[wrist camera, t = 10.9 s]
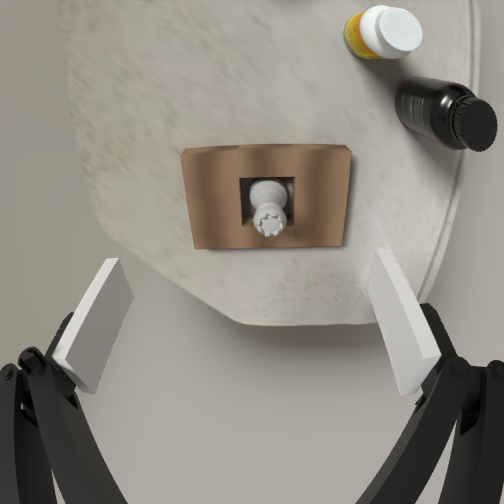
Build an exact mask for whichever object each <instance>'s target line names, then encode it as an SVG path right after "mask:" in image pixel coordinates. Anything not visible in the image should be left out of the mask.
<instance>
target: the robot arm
mask: <svg viewBox="0 0 504 504" xmlns="http://www.w3.org/2000/svg"><path fill="white" fill-rule="evenodd" d="M367 292H368V295H369V297H370V300H371V303H372V306H373V309H374V312H375V315H376V317H377V320H378V323H379V326H380V329H381V333H382V336H383V339H384V342H385V345H386V348H387V351H388V355H389V358H390V361H391V365H392V368H393V371H394V375H395V378H396V382H397V386H398V390H399V394H400V396H403V395H408V394H413V393H416V392H417V391H418V389H419V388H420V386H421V387H422V390H423V394H422V396H421V397H420V398H419V400H418V401H417V402H416V403H415V405H417V406H416V408H415V410H414V412H413V414H412V416H411V417H410V419H409V421H408V423H407V425H406V427H405V429H404V430H403V432H402V434H401V436H400V438H399V439H398V441H397V443H396V445H395V446H394V448H393V449H392V451H391V453H390V455H389V456H388V458H387V459H386V461H385V463H384V464H383V465H382V467H381V469H380V470H379V472H378V473H377V474H376V476H375V478H374V479H373V480H372V482H371V483H370V485H369V486H368V487H367V489H366V490H365V492H364V493H363V494H362V496H361V497H360V498H359V500H358V501H357V502H356V503H355V504H415V503H416V501H417V499H418V498H419V496H420V494H421V493H422V491H423V489H424V487H425V486H426V484H427V482H428V480H429V478H430V476H431V474H432V473H433V471H434V469H435V467H436V465H437V463H438V461H439V459H440V457H441V455H442V452H443V450H444V448H445V446H446V443H447V441H448V439H449V437H450V434H451V432H452V429H453V427H454V425H455V422H456V419H457V423H456V429H455V435H454V441H453V446H452V451H451V456H450V460H449V465H448V469H447V473H446V477H445V481H444V485H443V488H442V492H441V495H440V499H439V502H438V504H499V503H500V498H501V494H502V488H503V483H504V362H502V361H499V360H493V361H491V362H490V363H489V364H488V366H487V367H478V366H471V365H470V364H469V363H468V362H467V361H466V360H465V359H464V358H462V357H459V356H458V355H457V354H456V352H455V349H454V347H453V345H452V342H451V340H450V338H449V336H448V334H447V332H446V329H444V325H443V323H442V322H441V319H440V317H439V315H438V313H437V311H436V310H435V309H434V308H433V307H432V306H431V305H430V304H429V303H425V304H419V303H418V301H417V299H416V297H415V295H414V293H413V291H412V289H411V287H410V285H409V283H408V281H407V279H406V277H405V276H404V274H403V272H402V270H401V268H400V266H399V264H398V262H397V261H396V259H395V257H394V255H393V253H392V251H391V250H390V248H389V247H381V248H375V252H374V257H373V262H372V267H371V272H370V277H369V281H368V286H367ZM133 297H134V296H133V293H132V291H131V289H130V286H129V284H128V281H127V279H126V276H125V274H124V271H123V269H122V266H121V264H120V261H119V258H112V259H111V258H110V259H106V261H105V262H104V264H103V265H102V267H101V269H100V270H99V272H98V273H97V275H96V277H95V278H94V280H93V282H92V283H91V285H90V287H89V289H88V290H87V292H86V293H85V295H84V297H83V299H82V300H81V302H80V304H79V306H78V307H77V309H76V311H75V313H73V312H71V313H70V314H69V315H68V316H67V317H66V318H65V319H64V320H63V322H62V324H61V326H60V329H58V331H57V333H56V336H55V337H54V339H53V340H52V342H51V344H50V346H49V348H48V350H47V352H46V354H45V356H43V355H42V353H41V352H40V351H39V349H37V348H36V347H29V348H27V349H25V350H24V351H23V352H22V353H21V354H20V356H19V358H18V365H19V366H20V367H21V368H22V369H21V370H19V369H18V368H17V367H16V366H15V365H14V364H12V363H10V364H7V365H5V366H4V367H3V368H2V369H1V371H0V504H57V500H56V495H55V489H54V484H53V477H52V472H51V468H52V471H53V474H54V477H55V479H56V482H57V484H58V487H59V489H60V492H61V494H62V496H63V499H64V501H65V503H66V504H128V503H127V502H126V500H125V498H124V497H123V495H122V493H121V491H120V490H119V488H118V486H117V484H116V482H115V480H114V479H113V477H112V475H111V473H110V471H109V469H108V467H107V465H106V463H105V461H104V459H103V457H102V455H101V453H100V451H99V448H98V447H97V444H96V442H95V439H94V437H93V435H92V433H91V430H90V428H89V425H88V423H87V420H86V418H85V415H84V413H83V410H82V408H81V405H80V402H79V399H78V396H77V394H76V392H75V391H74V389H75V387H76V386H77V387H78V388H79V389H80V390H81V391H82V392H85V393H89V394H95V393H96V390H97V387H98V384H99V382H100V379H101V376H102V373H103V371H104V368H105V365H106V363H107V360H108V357H109V355H110V352H111V350H112V347H113V345H114V342H115V340H116V337H117V335H118V332H119V330H120V327H121V325H122V323H123V320H124V318H125V316H126V313H127V311H128V308H129V306H130V304H131V302H132V299H133ZM21 404H22V405H23V408H22V409H21Z"/></svg>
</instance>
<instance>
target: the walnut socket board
mask: <svg viewBox="0 0 504 504" xmlns="http://www.w3.org/2000/svg"><path fill="white" fill-rule="evenodd" d="M180 156H181V163H182V171H183V178H184V185H185V192H186V198H187V205H188V211H189V217H190V224H191V230H192V236H193V241H194V247H195V249H234V248H275V247H319V246H341V245H342V237H343V230H344V222H345V214H346V205H347V196H348V186H349V175H350V163H351V150H350V149H349V148H348V147H347V146H346V145H328V144H257V145H233V146H216V147H202V148H190V149H185V150H184V151H183V153H182V154H181V155H180ZM248 177H293V195H292V215H286V219H287V223H286V226H285V228H284V229H283V230H282V231H281V232H280V233H279V235H277V236H274V235H270V237H265V235H264V234H262V233H261V234H260V233H259V232H258V231H257V229H256V228H255V227H254V223H253V219H254V216H244V217H243V208H242V193H241V178H248Z"/></svg>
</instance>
